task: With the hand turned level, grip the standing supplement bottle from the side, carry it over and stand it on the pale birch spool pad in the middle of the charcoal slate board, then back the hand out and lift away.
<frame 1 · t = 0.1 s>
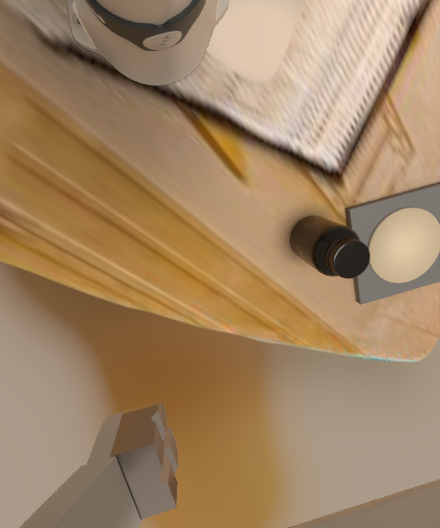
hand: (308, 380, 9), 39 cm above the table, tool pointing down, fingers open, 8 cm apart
supplement bottle: (310, 237, 49), on the table
slate board: (398, 244, 51), on the table
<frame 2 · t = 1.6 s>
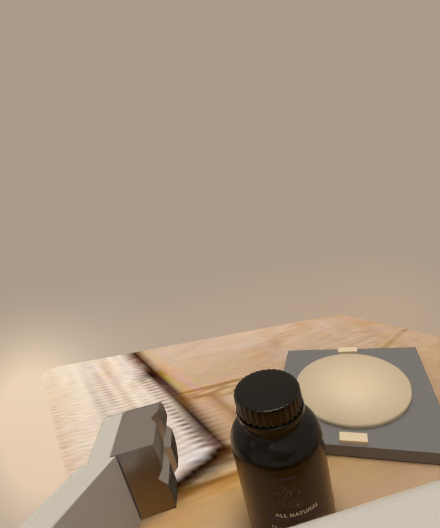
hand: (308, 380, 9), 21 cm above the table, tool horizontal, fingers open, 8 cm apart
supplement bottle: (293, 516, 26), on the table
slate board: (351, 397, 36), on the table
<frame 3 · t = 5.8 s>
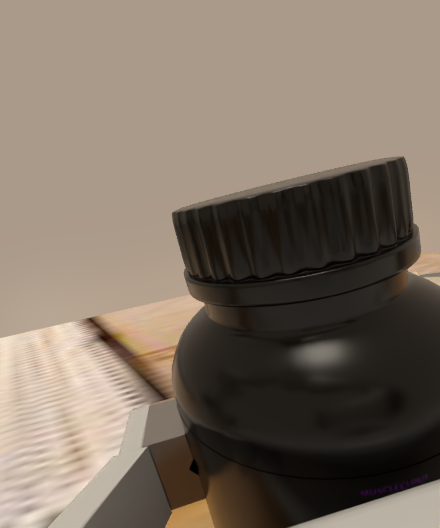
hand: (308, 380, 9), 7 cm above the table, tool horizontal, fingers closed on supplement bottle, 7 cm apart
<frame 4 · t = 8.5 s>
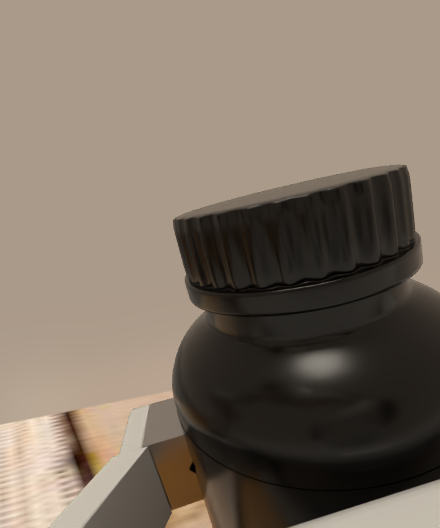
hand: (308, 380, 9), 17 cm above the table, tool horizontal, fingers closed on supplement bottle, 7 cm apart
when the fingers open (10 cm above the table, at t = 11.4 s): supplement bottle drops 1 cm, resting on slate board.
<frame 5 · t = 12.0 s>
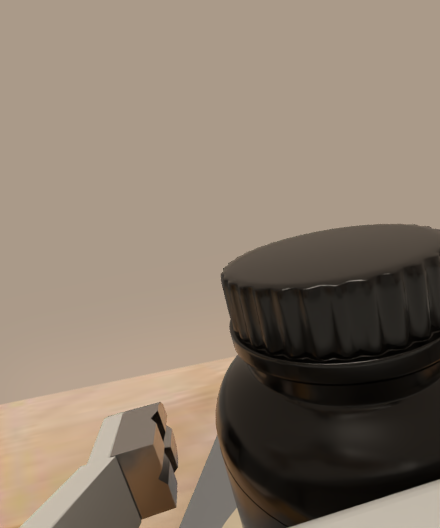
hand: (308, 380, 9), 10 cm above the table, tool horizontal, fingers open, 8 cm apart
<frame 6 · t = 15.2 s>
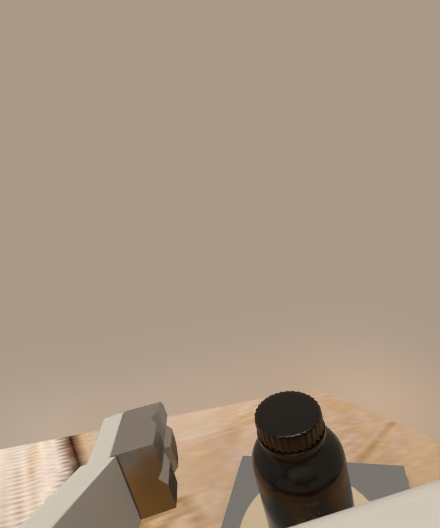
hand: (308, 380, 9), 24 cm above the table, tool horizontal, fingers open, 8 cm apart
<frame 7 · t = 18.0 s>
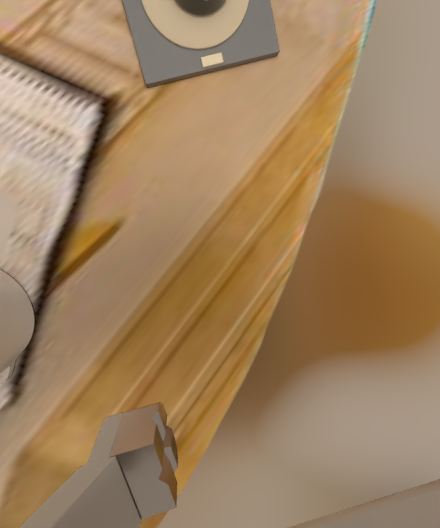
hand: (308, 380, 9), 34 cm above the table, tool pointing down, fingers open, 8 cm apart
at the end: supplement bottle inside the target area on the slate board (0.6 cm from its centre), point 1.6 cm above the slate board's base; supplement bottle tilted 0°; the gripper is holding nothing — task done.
